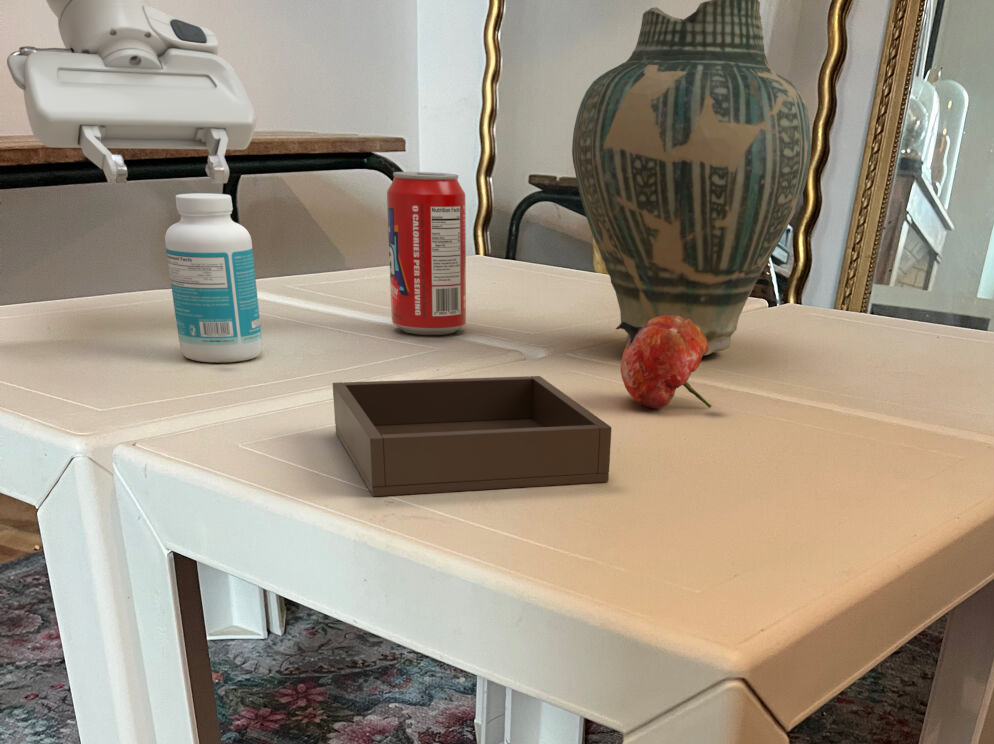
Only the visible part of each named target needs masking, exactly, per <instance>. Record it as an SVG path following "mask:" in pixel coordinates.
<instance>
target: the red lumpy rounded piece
mask: <svg viewBox="0 0 994 744" xmlns="http://www.w3.org/2000/svg"><path fill="white" fill-rule="evenodd" d="M615 329H616V330H620V329H621V330H624V332H626V334H627V337H629V342H628V344H627V345H626V346H624V347H625V348H624V350H623V352H622V357H621V358H620V359H621V360H620V374H621V380H622V383H623V385H624V387H625V389H626V391H627V393H628V395H630V396H631V398H632V399H633V400H634V401H636V402H637V403H639V404H640V405H642V406H643V405H644V406H645V407H647V408H651V409H661V408H663V407H666V406H667V405H669V404H670V402H671V400H672V399H673V398H674V396H675V393H676V392H677V391H676V390H677V389H678V388H679V387H682V386H683V387H684V388H685V389H686V390H687V391H688V392H689V393H691V394H692V395H694V396H695V397H696V398H697V399H698V400H700V401H701V402H702V403H703V404H705V406H706V407H707V408H708V409H710V408H711V407H712V405H711V403H708V402H707V400H706V399H705V398H704V397H703V396H702V395H701V394H699V393H698V392H697V391H696V390H695V389H694V388H693V387H692V386H691V384H690V383H689V381H688V380H689V379H690V377H691V374H692V373H694V372H696V370H697V369H698V368H699V366H700V364H701V361H702V358H704V357H703V355H704V356H706V355H705V354H706V353H707V352H708V351H709V346H708V342H707V339H706V337H705V336H704V334H703V332H702V331H701V330H700V328H699V327H698V326H696V325H695V324H694V323H693V322H692V321H691V320H690V319H684V318H683V317H681V316H674V315H661V316H659V317H655V318H653V319H651V320H649V321H648V323H647V324H646V325H643V326H642V327H634V326H632V325H630V324H628V323H626V322H621V321H620V323H619V324H618V326H617V327H616V328H615Z"/></svg>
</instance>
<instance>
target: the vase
mask: <svg viewBox="0 0 994 744" xmlns="http://www.w3.org/2000/svg"><path fill="white" fill-rule="evenodd" d="M760 11H761V2H760V1H759V0H706V1H703V2H700V3H699V4H698V6H697V8H696V9H695V11H694V12H692V13H691V14H690V15H688V16H687V17H684V19H683V18H678V17H675V16H672V15H670V14H668V13H666V12H664V11H663V10H662V9H660V8H659V7H658V6H654V7H650V8H649V9H648V10H645V11H644V12H643V13H642V18H641V25H640V30H639V34H638V38H637V42H636V44H635V48H634V49H633V50H632V52H631V55H630V56H629V57H628V59H627V60H626V61H625V62H622V63H620V64H619V65H617V66H615V67H613V68H612V69H610V70H607V71H606V72H604V73H602V74H601V75H599V76H598V77H597V78H596V79H594V80H593V82H591V84H590V86H589V87H588V88H587V89H586V91H585V93H584V95H583V97H582V100H581V101H580V103H579V107H578V111H577V115H576V117H575V123H574V127H573V133H572V145H571V147H572V148H571V155H572V157H571V158H572V163H573V167H574V173H575V179H576V183H577V188H578V192H579V198H580V200H581V204H582V207H583V211H584V215H585V217H586V220H587V223H588V227H589V229H590V232H591V234H592V238H593V240H594V242H595V244H596V246H597V249H598V252H599V254H600V257H601V259H602V261H603V264H604V267H605V271H606V272H607V274H608V276H609V278H610V283H611V286H612V287H613V289H614V292H615V296H616V300H617V303H618V307H619V311H620V314H619V315H620V323H621V322H626V323H628V324H630V325H632V326H634V327H642V326H643V325H646V324H647V323H648V321H649V320H651V319H653V318H655V317H659V316H661V315H674V316H681V317H683V318H684V319H690V320H691V321H692V322H693V323H694V324H695V325H696V326H698V327H699V328H700V330H701V331H702V332H703V334H704V336H705V337H706V339H707V342H708V346H709V351H708V352H707V353H706V354H705V355H703V356H707V355H710V354H712V353H715V352H716V353H717V352H722V351H725V350H728V349H729V348H731V342H732V341H731V340H732V335H733V334H734V333H735V332H736V331H737V329H738V322H739V320H740V316H741V314H742V312H743V309H744V308H745V305H746V302H747V301H748V299H749V297H750V296H751V294H752V291H753V290H754V287H755V285H756V283H757V282H758V280H759V279H760V276H761V274H762V273H763V272H764V269H765V267H766V265H767V264H768V262H769V260H770V258H771V257H772V256H773V253H774V251H775V250H776V248H777V247H778V245H779V243H780V241H781V239H782V238H783V236H784V234H785V233H786V230H787V229H788V227H789V225H790V222H791V220H792V219H793V217H794V215H795V213H796V210H797V209H798V206H799V203H800V201H801V199H802V196H803V193H804V190H805V187H806V183H807V178H808V173H809V169H810V163H811V152H812V151H811V150H812V136H811V123H810V116H809V110H808V107H807V103H806V99H805V98H804V96H803V94H802V93H801V91H800V90H799V89H798V87H796V86H795V84H793V82H792V81H791V80H788V79H787V78H785V77H784V76H782V75H780V74H778V73H777V72H775V71H774V70H773V69H771V67H770V66H769V63H768V58H767V55H766V52H765V44H764V33H763V24H762V16H761V12H760ZM628 342H629V337H628V336H627V337H626V345H627V344H628Z"/></svg>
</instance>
